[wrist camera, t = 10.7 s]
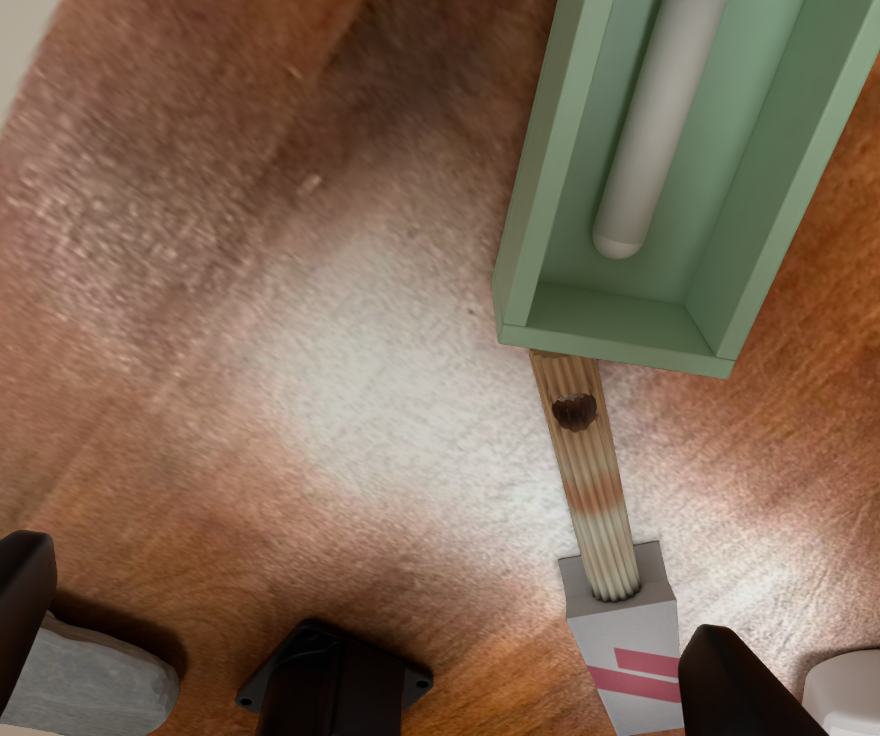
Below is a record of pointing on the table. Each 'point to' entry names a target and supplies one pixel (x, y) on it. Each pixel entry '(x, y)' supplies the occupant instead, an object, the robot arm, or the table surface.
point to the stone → (90, 685)
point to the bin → (675, 180)
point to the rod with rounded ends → (655, 122)
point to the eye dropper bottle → (846, 694)
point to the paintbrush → (609, 559)
